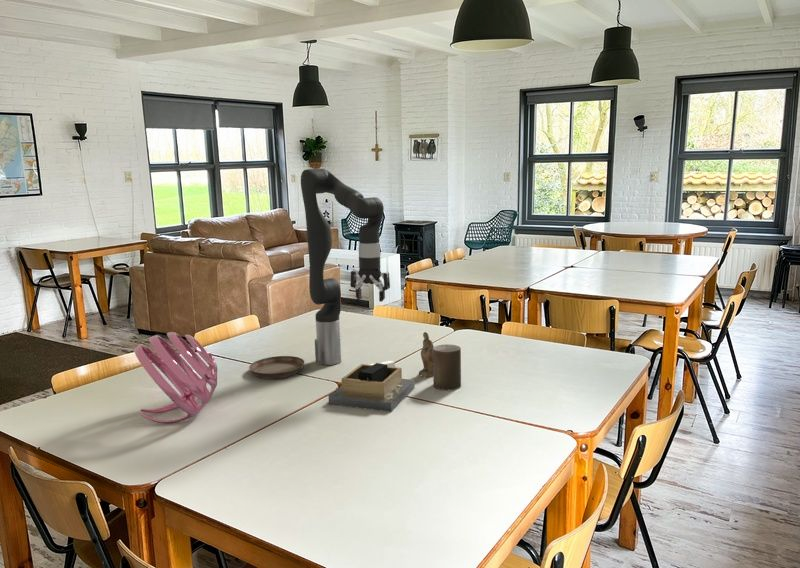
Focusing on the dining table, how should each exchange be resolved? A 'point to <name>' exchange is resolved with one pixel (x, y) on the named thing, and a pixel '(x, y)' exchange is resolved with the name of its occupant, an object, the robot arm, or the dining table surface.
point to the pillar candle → (447, 367)
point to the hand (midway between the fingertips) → (370, 300)
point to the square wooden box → (372, 390)
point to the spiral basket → (179, 373)
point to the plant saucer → (277, 366)
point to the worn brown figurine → (427, 356)
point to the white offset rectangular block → (389, 363)
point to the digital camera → (374, 373)
